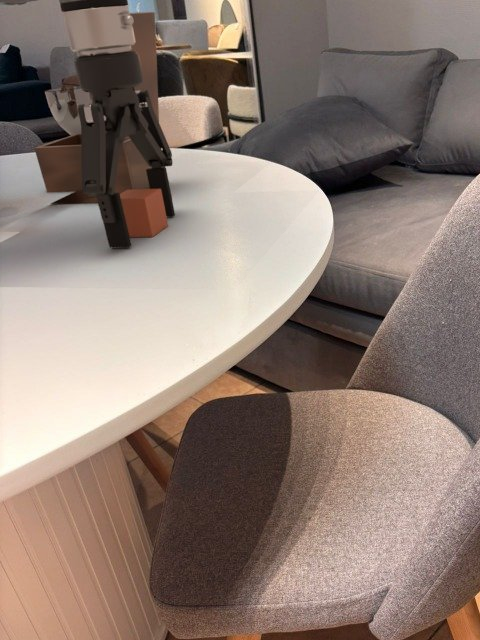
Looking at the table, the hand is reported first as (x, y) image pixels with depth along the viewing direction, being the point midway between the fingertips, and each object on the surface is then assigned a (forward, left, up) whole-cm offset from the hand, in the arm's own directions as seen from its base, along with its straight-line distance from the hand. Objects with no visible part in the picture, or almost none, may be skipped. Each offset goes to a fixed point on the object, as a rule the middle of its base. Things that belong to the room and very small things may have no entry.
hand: (144, 230), depth 86 cm
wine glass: (-32, +40, 0) cm, 51 cm away
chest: (-17, +22, 0) cm, 28 cm away
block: (0, 0, 0) cm, 0 cm away
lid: (-8, +22, +17) cm, 29 cm away
